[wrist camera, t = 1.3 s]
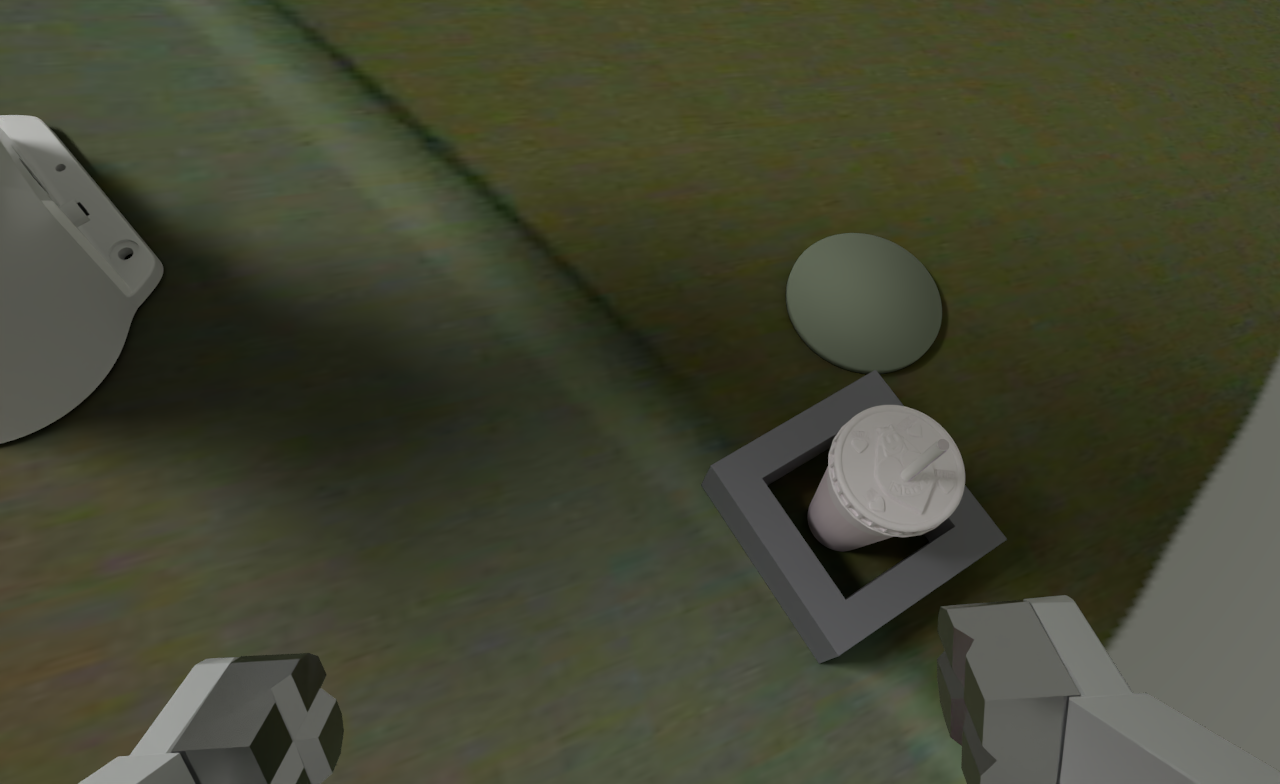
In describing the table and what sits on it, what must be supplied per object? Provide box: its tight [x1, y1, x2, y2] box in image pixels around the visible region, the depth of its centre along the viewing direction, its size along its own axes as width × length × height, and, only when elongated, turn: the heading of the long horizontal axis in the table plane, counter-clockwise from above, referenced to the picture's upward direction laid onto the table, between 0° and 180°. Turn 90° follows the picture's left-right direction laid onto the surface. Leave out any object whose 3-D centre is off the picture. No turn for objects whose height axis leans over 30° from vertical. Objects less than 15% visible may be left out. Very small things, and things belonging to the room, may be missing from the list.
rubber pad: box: [786, 233, 942, 374], centre depth 54 cm, size 10×10×1 cm
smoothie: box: [807, 405, 965, 552], centre depth 42 cm, size 6×6×14 cm
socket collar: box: [701, 370, 1007, 663], centre depth 47 cm, size 12×12×4 cm
